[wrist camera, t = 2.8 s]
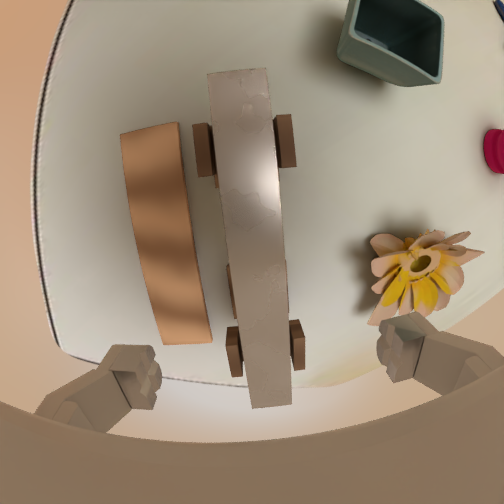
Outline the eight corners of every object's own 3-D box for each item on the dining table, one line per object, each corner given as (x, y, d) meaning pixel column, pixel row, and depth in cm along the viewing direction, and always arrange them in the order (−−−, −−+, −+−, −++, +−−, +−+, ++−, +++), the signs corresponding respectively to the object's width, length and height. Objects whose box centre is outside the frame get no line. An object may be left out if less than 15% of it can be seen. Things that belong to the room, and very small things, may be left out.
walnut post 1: (209, 127, 25) (184, 100, 13) (272, 120, 25) (293, 89, 13) (216, 187, 26) (196, 204, 15) (278, 180, 26) (304, 193, 15)
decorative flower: (334, 320, 29) (382, 356, 20) (349, 217, 29) (406, 214, 19) (428, 319, 31) (479, 341, 22) (441, 236, 31) (498, 240, 21)
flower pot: (318, 69, 23) (347, 34, 14) (333, 10, 20) (361, -31, 12) (392, 101, 24) (441, 85, 15) (402, 42, 21) (444, 16, 13)
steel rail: (213, 88, 15) (207, 74, 12) (262, 83, 15) (265, 67, 12) (251, 382, 22) (252, 408, 19) (286, 378, 21) (291, 404, 19)
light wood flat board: (123, 135, 24) (120, 134, 24) (178, 122, 24) (176, 121, 24) (164, 341, 32) (163, 345, 31) (212, 338, 32) (212, 342, 31)
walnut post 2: (226, 265, 29) (217, 328, 18) (284, 258, 29) (309, 318, 18) (234, 315, 31) (230, 390, 20) (288, 309, 31) (308, 382, 19)
